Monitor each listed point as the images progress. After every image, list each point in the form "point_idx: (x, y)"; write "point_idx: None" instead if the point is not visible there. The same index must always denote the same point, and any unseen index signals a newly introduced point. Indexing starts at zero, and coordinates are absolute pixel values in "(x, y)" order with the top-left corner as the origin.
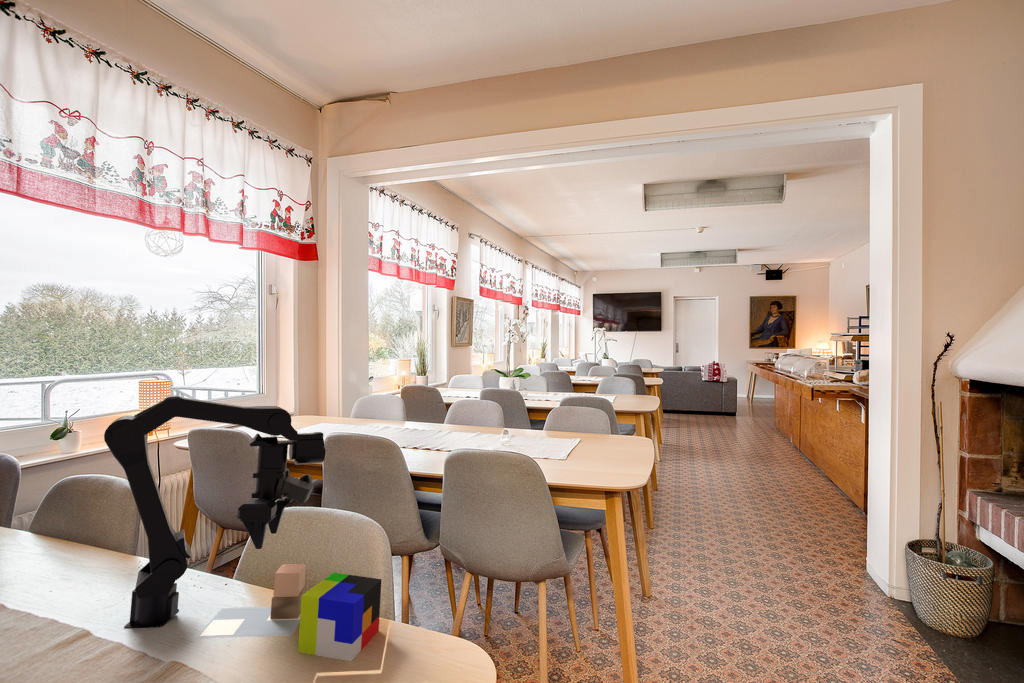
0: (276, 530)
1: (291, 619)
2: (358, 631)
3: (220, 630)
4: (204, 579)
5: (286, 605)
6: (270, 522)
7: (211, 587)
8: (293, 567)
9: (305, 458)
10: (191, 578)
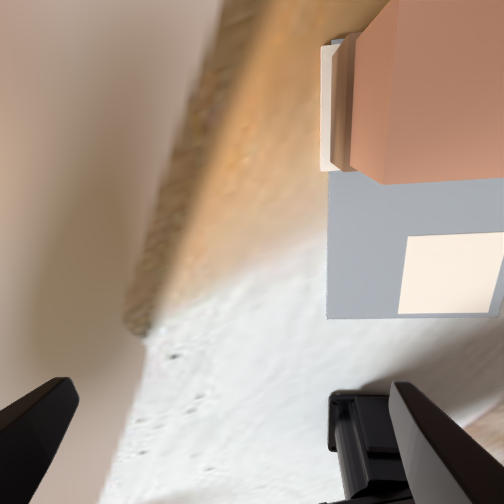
0: (52, 392)
1: None
2: None
3: (469, 275)
4: (157, 404)
5: None
6: (15, 498)
7: (197, 378)
8: (467, 73)
9: None
10: (157, 427)
